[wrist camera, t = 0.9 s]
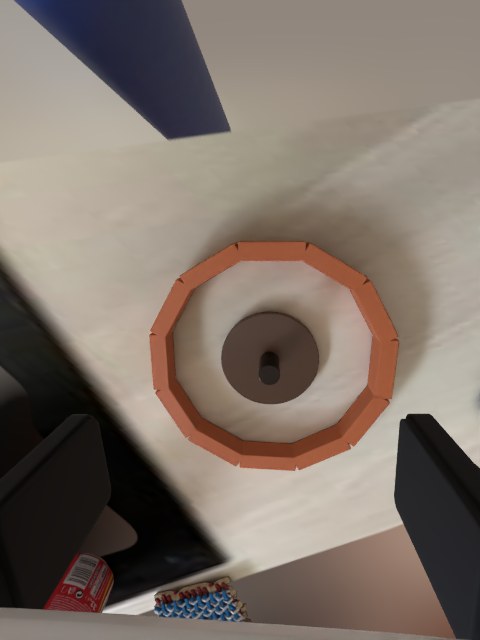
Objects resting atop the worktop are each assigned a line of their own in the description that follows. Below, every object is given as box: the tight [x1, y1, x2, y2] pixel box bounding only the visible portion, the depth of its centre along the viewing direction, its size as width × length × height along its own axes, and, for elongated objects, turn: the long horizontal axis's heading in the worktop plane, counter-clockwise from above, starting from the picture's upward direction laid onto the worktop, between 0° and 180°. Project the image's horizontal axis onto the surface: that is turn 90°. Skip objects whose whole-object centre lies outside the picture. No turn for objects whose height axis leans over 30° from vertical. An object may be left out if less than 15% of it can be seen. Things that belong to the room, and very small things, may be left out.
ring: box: [149, 241, 399, 471], centre depth 30 cm, size 22×22×2 cm
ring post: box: [221, 312, 319, 404], centre depth 29 cm, size 9×9×4 cm
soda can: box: [43, 553, 114, 613], centre depth 34 cm, size 7×7×12 cm
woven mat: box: [154, 577, 252, 623], centre depth 39 cm, size 10×11×2 cm
